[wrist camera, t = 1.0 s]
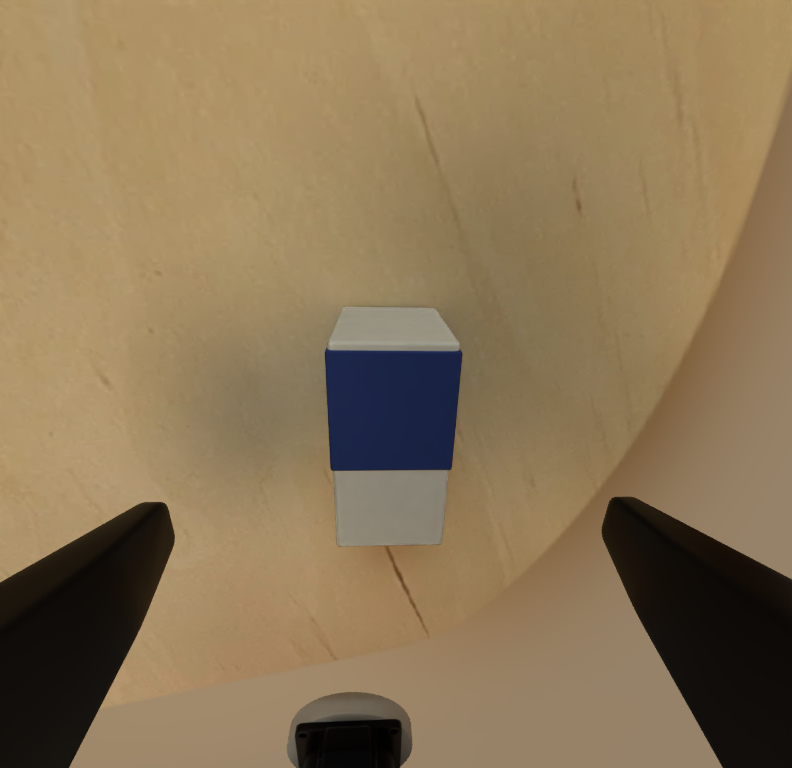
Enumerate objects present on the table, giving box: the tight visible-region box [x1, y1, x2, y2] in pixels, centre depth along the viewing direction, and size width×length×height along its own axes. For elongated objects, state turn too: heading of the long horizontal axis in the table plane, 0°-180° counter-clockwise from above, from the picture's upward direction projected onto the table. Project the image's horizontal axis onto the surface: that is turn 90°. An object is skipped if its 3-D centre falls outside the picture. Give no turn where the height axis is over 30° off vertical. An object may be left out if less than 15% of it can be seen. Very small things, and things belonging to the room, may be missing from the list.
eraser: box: [325, 307, 462, 547], centre depth 12 cm, size 6×3×4 cm, turn 179°
